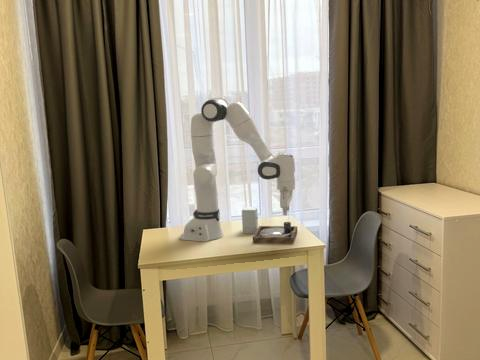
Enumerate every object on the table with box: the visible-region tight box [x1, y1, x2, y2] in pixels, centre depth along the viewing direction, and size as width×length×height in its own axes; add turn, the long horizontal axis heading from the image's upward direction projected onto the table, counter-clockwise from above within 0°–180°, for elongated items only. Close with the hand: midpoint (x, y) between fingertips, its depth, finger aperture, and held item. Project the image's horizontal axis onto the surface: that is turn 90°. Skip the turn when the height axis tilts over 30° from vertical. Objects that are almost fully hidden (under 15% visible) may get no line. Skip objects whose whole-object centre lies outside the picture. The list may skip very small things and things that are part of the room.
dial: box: [260, 221, 292, 237], centre depth 248 cm, size 16×16×7 cm
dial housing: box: [252, 225, 298, 245], centre depth 249 cm, size 20×20×3 cm
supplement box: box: [241, 206, 259, 234], centre depth 261 cm, size 7×7×13 cm
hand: (286, 212), depth 246 cm, fingers open, 8 cm apart
